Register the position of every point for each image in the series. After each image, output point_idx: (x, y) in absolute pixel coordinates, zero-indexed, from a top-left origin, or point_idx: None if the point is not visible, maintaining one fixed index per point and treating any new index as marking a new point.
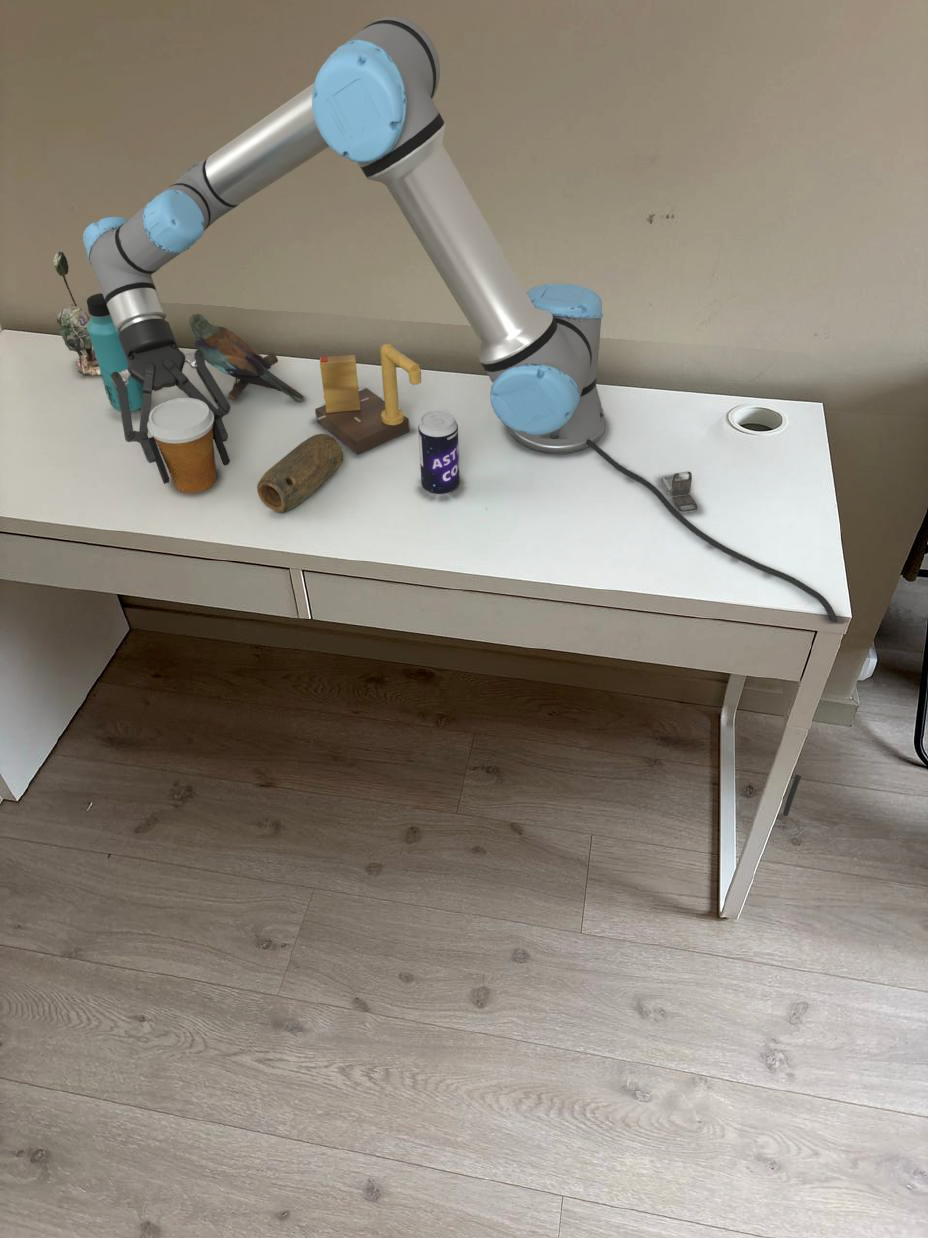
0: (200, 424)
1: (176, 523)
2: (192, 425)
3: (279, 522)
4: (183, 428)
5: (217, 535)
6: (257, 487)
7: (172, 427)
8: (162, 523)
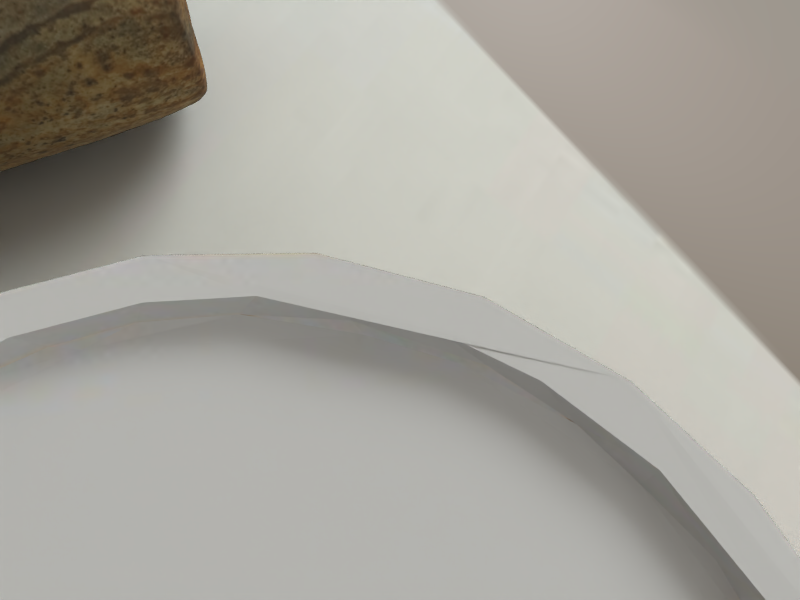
0: (127, 268)
1: (655, 369)
2: (271, 281)
3: (228, 24)
4: (456, 313)
5: (520, 137)
6: (187, 30)
7: (580, 580)
8: (727, 428)
